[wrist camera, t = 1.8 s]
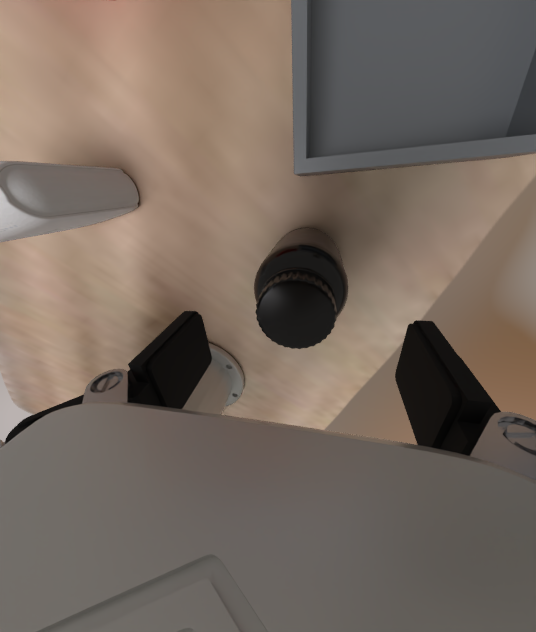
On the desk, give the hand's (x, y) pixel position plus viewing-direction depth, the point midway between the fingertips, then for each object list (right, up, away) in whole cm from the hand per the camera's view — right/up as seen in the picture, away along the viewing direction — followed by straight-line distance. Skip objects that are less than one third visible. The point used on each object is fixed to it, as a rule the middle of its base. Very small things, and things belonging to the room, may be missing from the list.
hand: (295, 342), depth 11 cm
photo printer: (-19, +14, +14) cm, 28 cm away
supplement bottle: (+3, +7, +13) cm, 15 cm away
